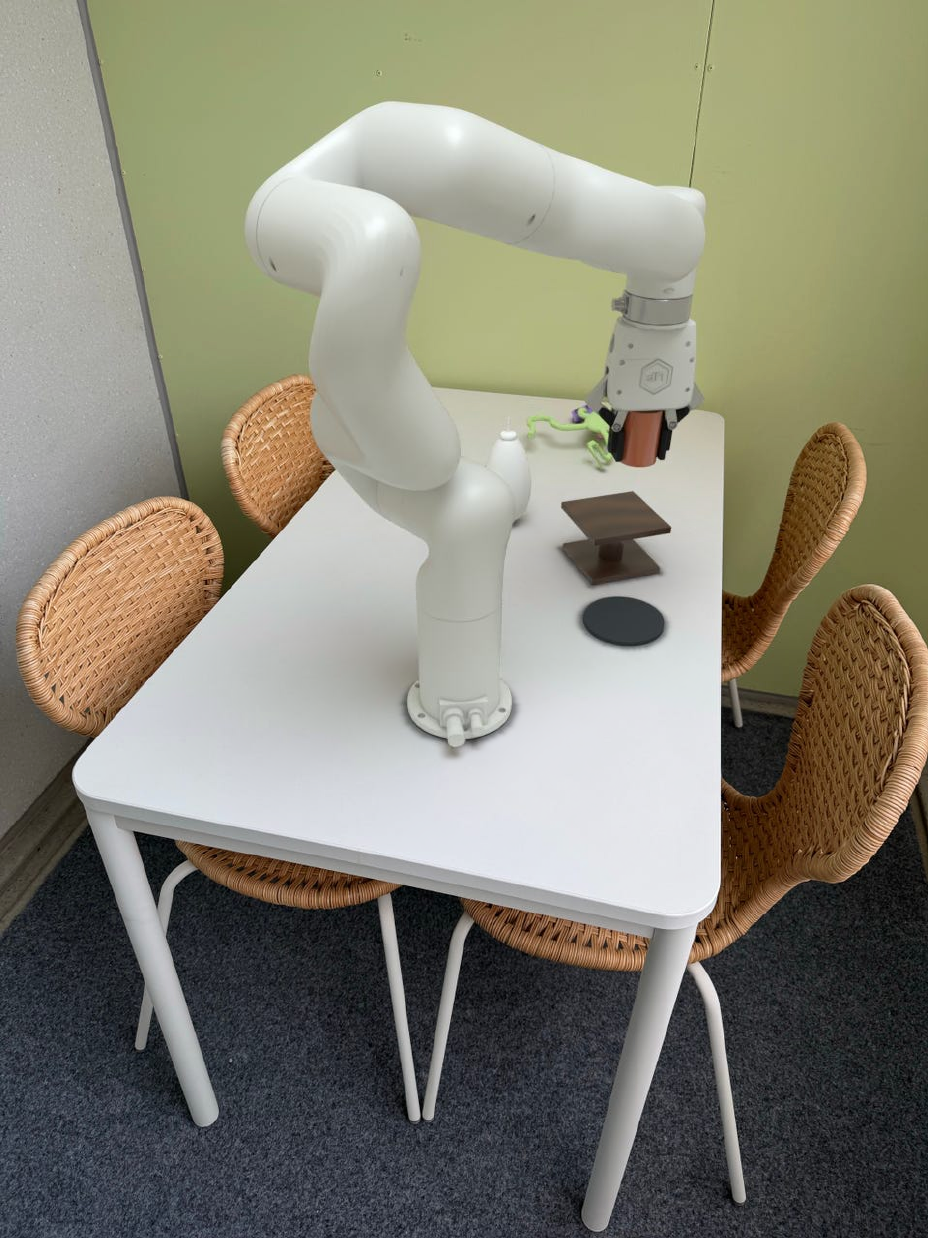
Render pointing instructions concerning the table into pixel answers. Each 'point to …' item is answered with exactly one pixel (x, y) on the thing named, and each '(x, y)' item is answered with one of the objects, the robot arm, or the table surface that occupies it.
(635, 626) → the coaster
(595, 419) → the figurine
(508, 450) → the sauce bottle
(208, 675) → the table surface
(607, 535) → the stand
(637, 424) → the canister
